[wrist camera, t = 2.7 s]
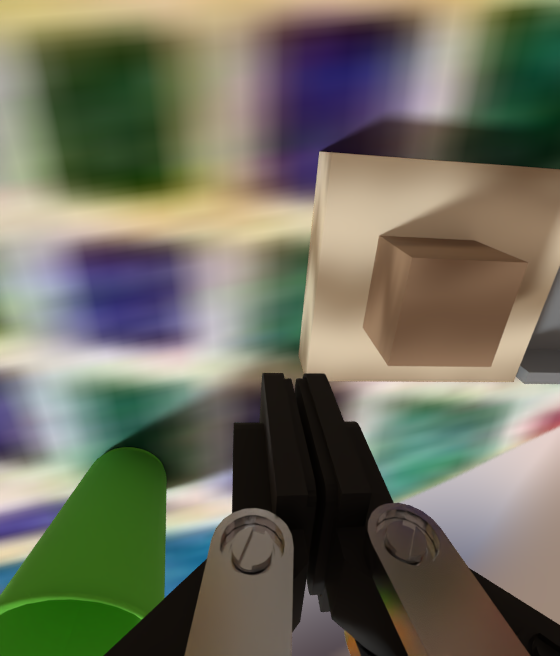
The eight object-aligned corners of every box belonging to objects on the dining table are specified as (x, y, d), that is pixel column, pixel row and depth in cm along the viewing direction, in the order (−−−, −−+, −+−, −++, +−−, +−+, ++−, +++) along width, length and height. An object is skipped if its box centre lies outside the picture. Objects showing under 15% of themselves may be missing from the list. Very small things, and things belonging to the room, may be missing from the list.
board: (319, 151, 19) (332, 152, 17) (550, 168, 21) (596, 172, 18) (298, 355, 25) (305, 381, 22) (485, 357, 26) (513, 381, 23)
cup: (213, 446, 27) (197, 618, 17) (167, 526, 30) (133, 709, 21) (84, 406, 25) (-18, 579, 15) (49, 497, 28) (-54, 690, 18)
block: (379, 235, 19) (412, 257, 15) (474, 240, 19) (528, 262, 16) (362, 327, 21) (388, 366, 17) (448, 329, 21) (490, 366, 18)
